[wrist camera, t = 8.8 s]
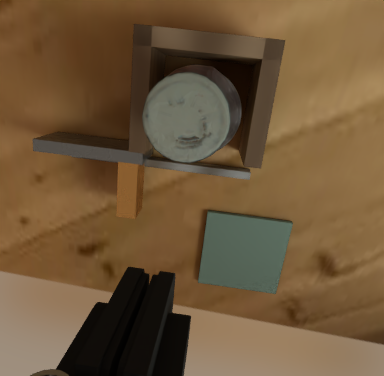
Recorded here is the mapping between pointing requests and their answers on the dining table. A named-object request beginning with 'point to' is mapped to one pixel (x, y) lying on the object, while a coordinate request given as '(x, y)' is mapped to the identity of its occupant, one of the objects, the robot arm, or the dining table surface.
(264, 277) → the mat
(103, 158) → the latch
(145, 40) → the cradle
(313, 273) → the dining table surface
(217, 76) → the sauce bottle
